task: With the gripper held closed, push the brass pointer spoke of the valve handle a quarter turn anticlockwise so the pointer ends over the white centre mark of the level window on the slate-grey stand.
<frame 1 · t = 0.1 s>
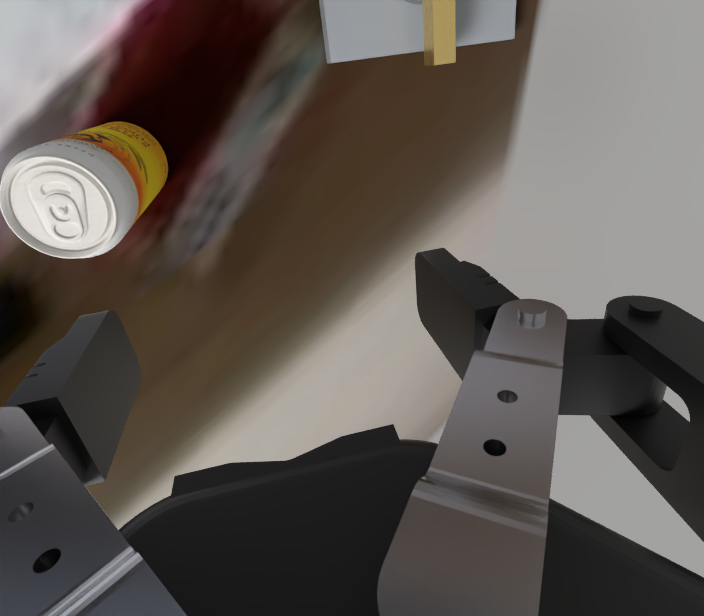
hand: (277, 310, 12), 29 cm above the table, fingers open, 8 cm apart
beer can: (129, 161, 36), on the table
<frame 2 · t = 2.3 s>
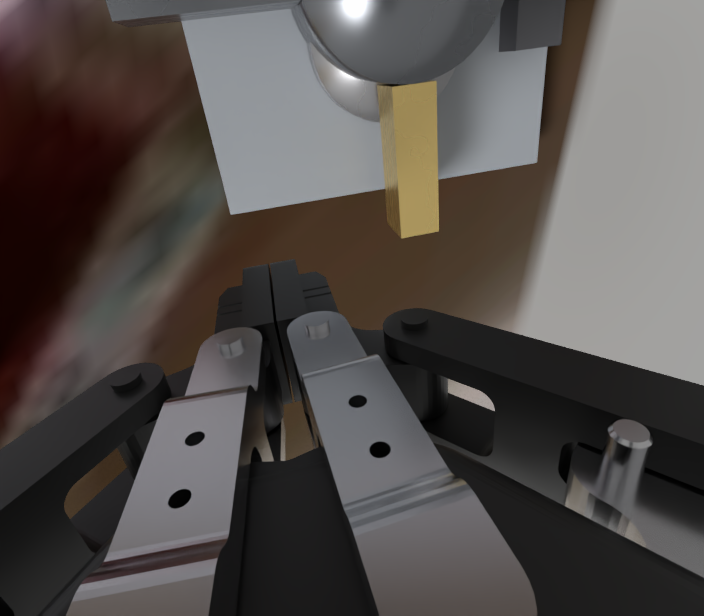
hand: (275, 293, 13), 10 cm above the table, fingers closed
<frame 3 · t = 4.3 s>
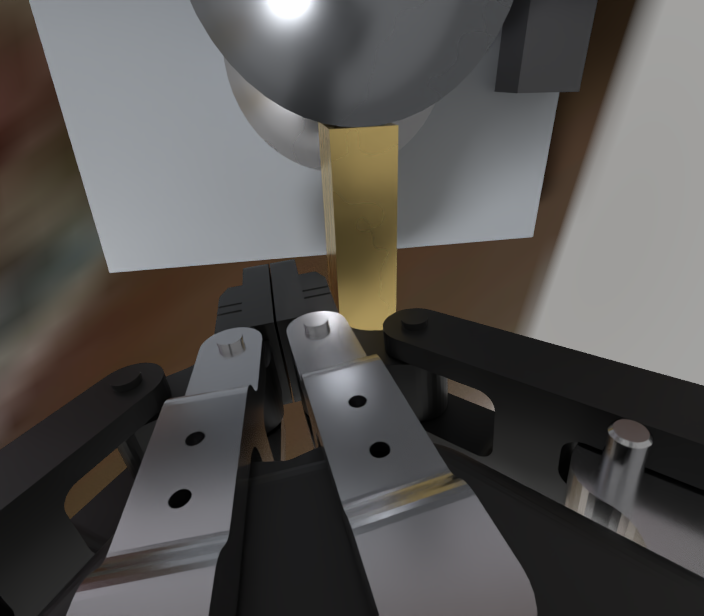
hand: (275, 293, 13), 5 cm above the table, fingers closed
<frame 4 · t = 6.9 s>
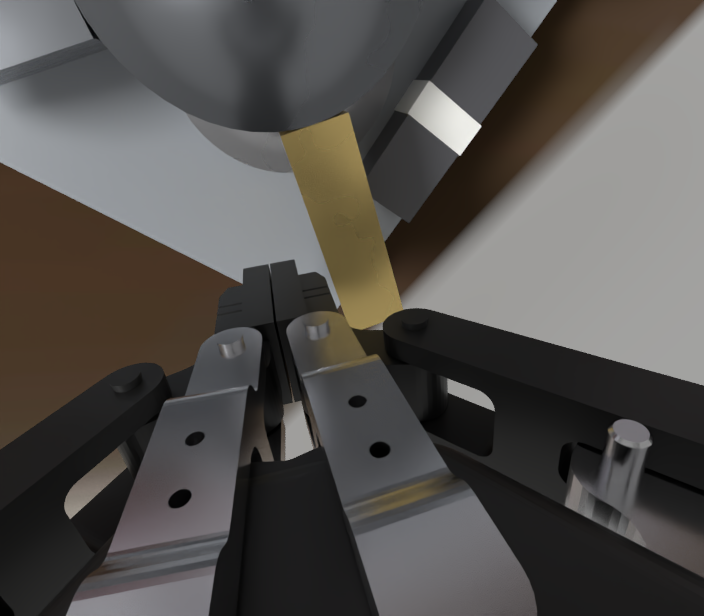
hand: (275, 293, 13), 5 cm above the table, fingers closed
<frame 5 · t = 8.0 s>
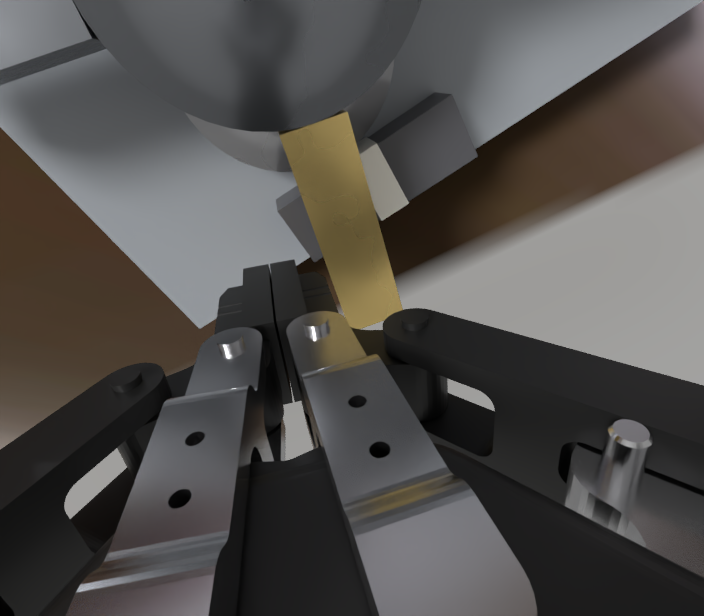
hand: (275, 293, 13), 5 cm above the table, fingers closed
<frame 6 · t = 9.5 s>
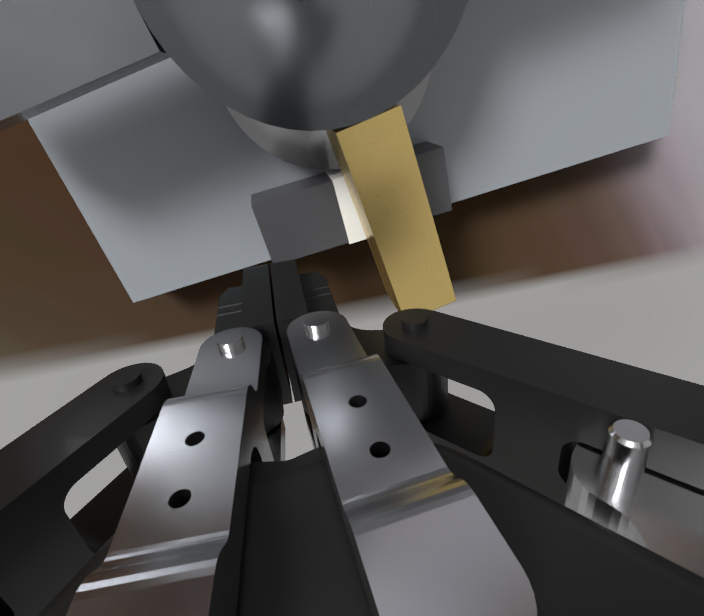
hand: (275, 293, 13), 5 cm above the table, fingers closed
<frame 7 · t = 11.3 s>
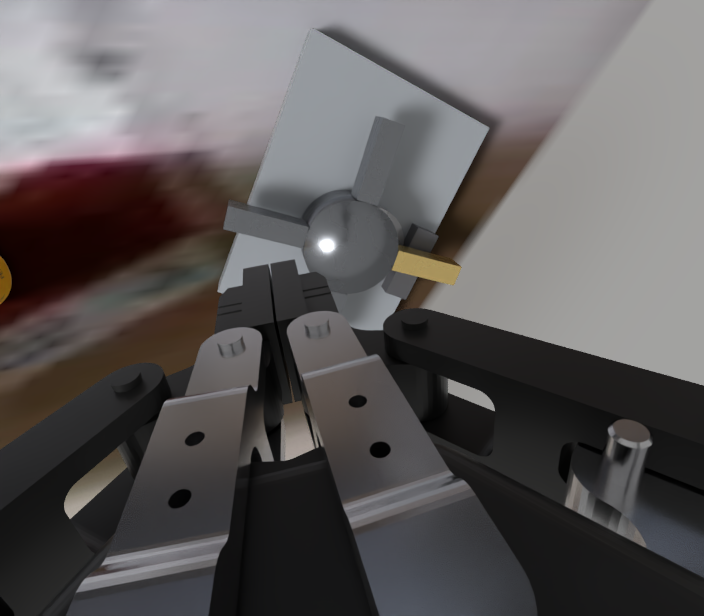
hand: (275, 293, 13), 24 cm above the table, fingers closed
valve handle: (346, 241, 34), point 4 cm above the table, hinge at 96.5°
stand: (346, 205, 37), on the table
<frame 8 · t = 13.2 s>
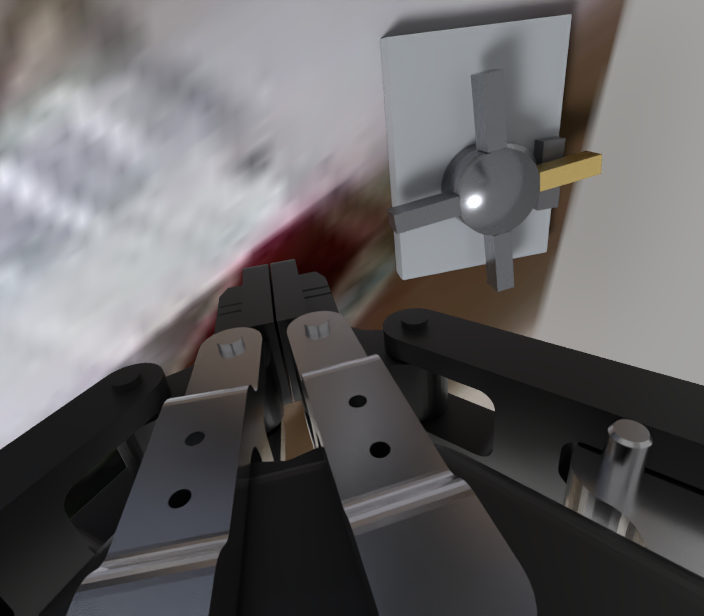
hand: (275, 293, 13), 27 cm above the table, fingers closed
valve handle: (488, 188, 38), point 4 cm above the table, hinge at 96.5°
stand: (468, 156, 40), on the table
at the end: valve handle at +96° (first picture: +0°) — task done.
